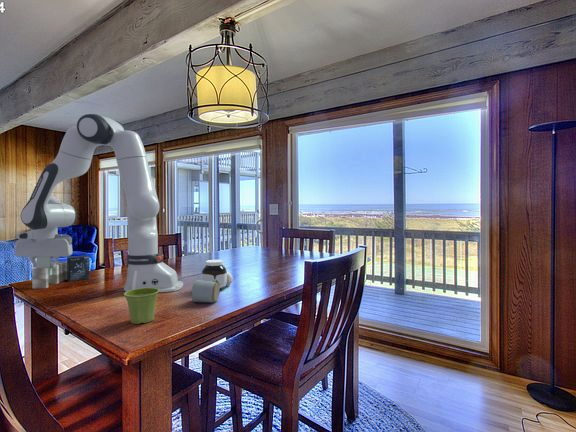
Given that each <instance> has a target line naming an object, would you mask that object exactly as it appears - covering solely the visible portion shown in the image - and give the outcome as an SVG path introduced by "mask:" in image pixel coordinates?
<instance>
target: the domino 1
mask: <svg viewBox="0 0 576 432" xmlns="http://www.w3.org/2000/svg"><path fill="white" fill-rule="evenodd" d="M36 262H37V268H48V276H50V275H52V267H50V263H52V262H53V257H36Z"/></svg>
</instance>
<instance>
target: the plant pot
mask: <svg viewBox="0 0 576 432" xmlns="http://www.w3.org/2000/svg"><path fill="white" fill-rule="evenodd" d="M158 293H160V292H159V289H157V288H139V289H133V290H130V291H127V292H126V291H124V293H123V296H124V297H125V299H126V301H127V307H128V312H129V318H130V323H132V324H134V325H140V324H148V323H150V322H152V321H154V318H155V311H156V310H155V309H156V304H157V298H158Z"/></svg>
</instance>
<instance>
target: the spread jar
mask: <svg viewBox="0 0 576 432" xmlns="http://www.w3.org/2000/svg"><path fill="white" fill-rule="evenodd" d="M200 278H201V279H200V280H203V281H212V282H216V283H218V284H219V287H220V292H222V291H223V289H225V288H226V287H229V286H230V285H232V283H233V282H234V277H233V275H232V273H231V272H229V271H228V270H227V268H226V267H225V266H224V260H221V259H209V260H206V261H205V265H204V268H202V271H201V277H200Z"/></svg>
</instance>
